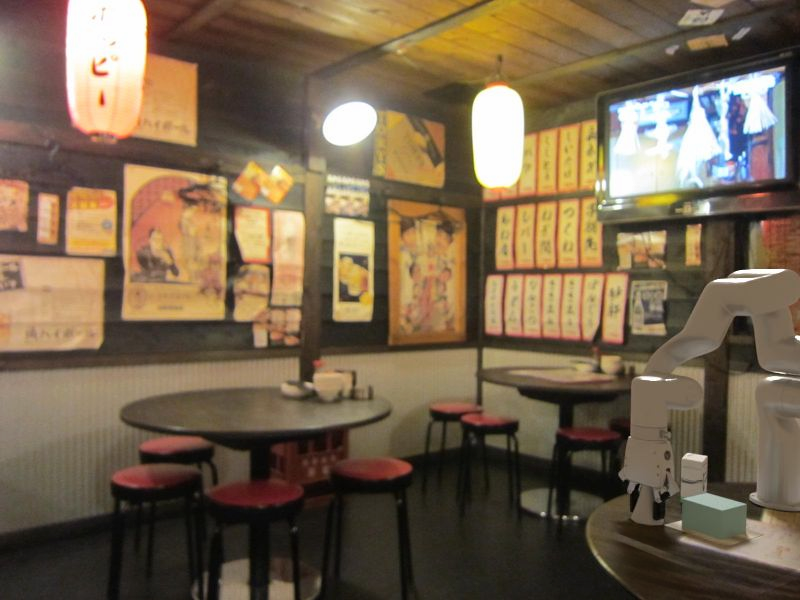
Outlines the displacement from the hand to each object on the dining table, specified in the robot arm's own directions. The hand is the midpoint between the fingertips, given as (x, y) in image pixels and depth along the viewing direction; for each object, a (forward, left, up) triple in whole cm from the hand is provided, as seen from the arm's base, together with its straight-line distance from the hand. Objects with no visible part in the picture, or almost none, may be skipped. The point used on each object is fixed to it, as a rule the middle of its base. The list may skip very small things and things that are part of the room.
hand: (647, 514), depth 145 cm
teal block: (-8, +11, -1) cm, 13 cm away
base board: (-7, +11, -2) cm, 13 cm away
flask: (0, 0, -2) cm, 2 cm away
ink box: (-24, -4, -3) cm, 24 cm away
